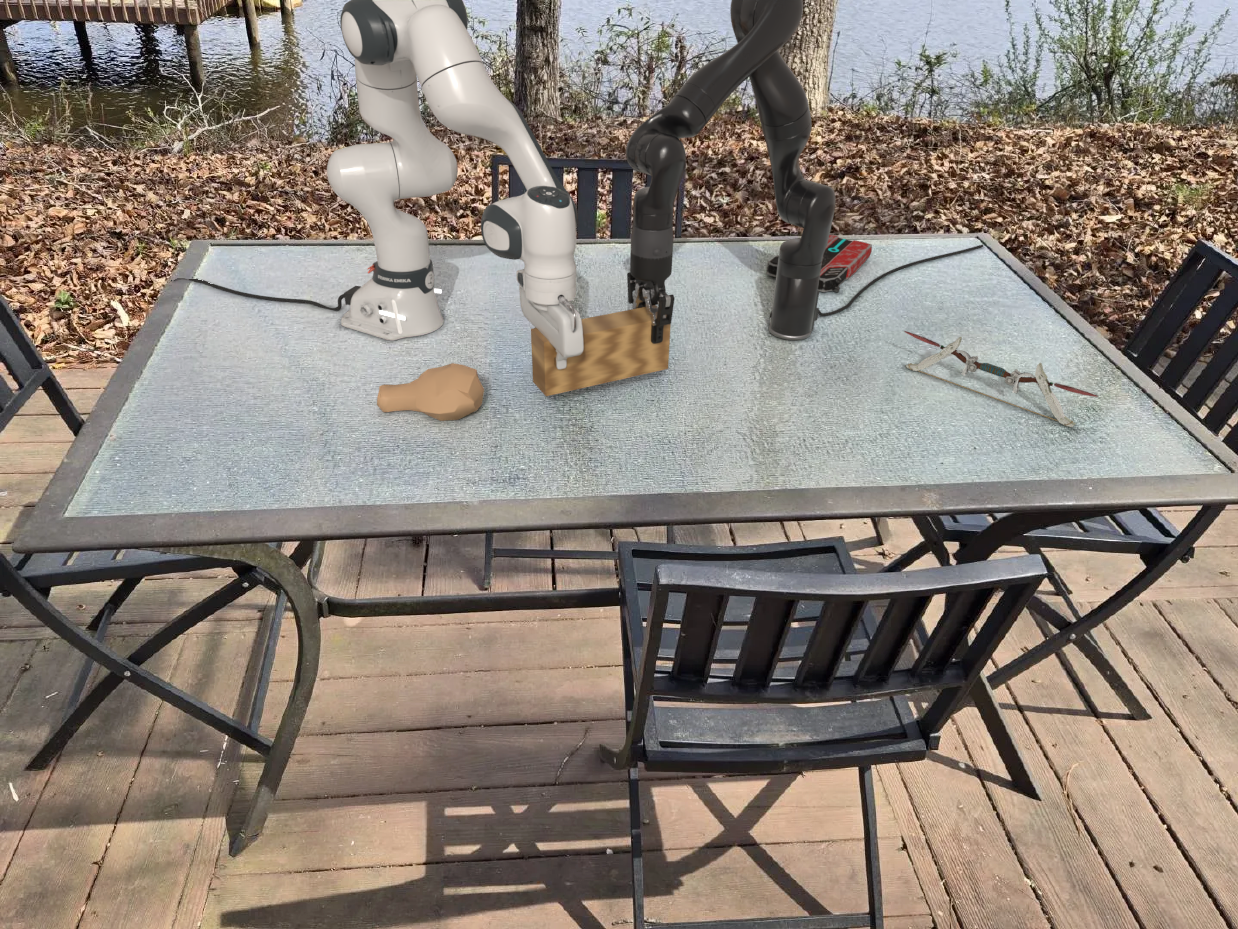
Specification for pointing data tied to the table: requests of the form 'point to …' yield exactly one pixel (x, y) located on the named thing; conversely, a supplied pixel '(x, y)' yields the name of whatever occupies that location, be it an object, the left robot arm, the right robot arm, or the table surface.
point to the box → (602, 353)
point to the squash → (436, 393)
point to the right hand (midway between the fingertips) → (648, 334)
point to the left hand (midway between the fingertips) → (552, 358)
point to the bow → (1010, 379)
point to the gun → (835, 262)
